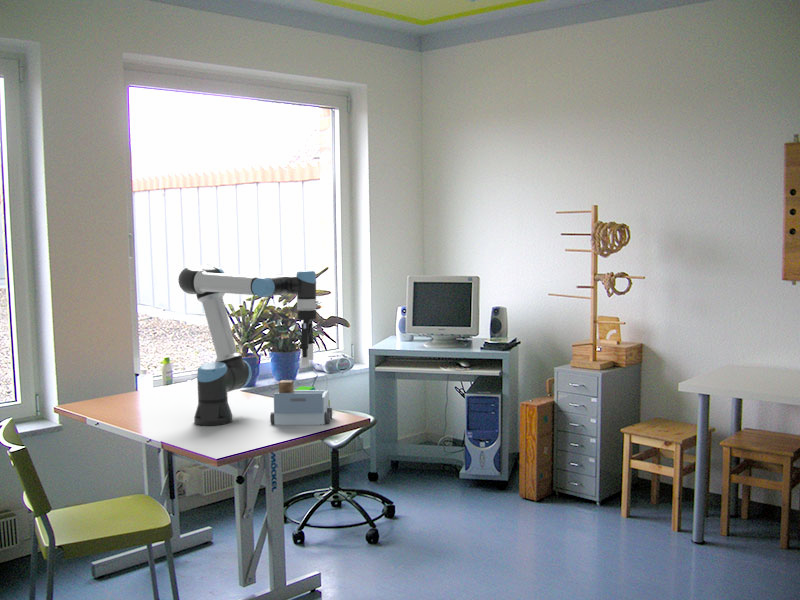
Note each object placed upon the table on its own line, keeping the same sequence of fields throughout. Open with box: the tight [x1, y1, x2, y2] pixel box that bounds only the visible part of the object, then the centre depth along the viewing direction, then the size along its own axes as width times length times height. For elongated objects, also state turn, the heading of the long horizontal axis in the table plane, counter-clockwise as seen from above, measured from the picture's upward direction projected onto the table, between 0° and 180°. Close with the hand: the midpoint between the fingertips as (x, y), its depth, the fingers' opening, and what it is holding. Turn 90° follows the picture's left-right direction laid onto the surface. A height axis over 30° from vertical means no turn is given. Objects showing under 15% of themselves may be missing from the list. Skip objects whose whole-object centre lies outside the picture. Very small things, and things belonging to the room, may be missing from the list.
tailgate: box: [273, 392, 323, 413], centre depth 303 cm, size 19×2×8 cm, turn 88°
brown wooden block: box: [278, 379, 295, 393], centre depth 308 cm, size 5×5×12 cm
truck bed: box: [269, 389, 333, 426], centre depth 312 cm, size 23×15×11 cm, turn 88°
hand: (307, 362), depth 307 cm, fingers open, 12 cm apart
